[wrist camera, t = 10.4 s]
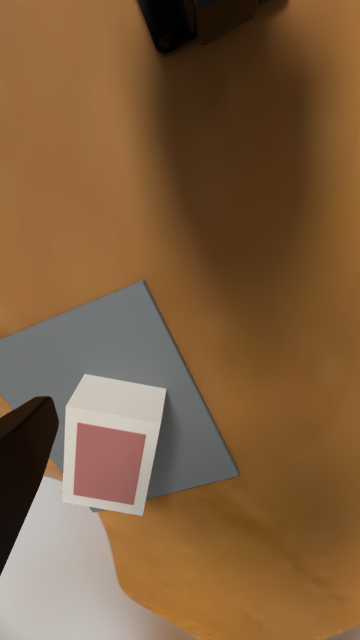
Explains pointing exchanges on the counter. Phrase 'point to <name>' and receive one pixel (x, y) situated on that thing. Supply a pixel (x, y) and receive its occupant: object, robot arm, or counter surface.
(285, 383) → the counter surface
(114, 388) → the card box
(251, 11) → the robot arm
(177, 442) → the mat
